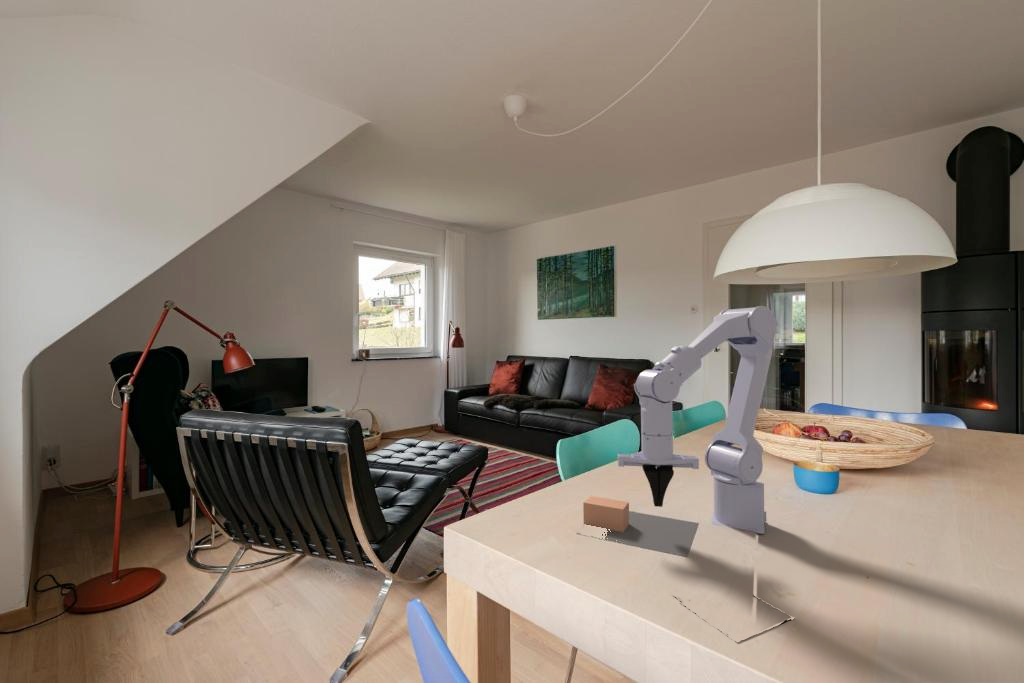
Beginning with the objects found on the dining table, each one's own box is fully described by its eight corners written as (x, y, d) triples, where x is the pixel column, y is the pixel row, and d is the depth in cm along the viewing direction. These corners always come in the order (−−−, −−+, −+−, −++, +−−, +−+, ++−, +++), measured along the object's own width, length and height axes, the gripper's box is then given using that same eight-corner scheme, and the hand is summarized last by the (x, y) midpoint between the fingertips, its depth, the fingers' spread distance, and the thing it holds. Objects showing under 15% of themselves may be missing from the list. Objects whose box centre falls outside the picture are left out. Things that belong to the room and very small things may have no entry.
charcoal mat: (698, 526, 90) (698, 523, 90) (686, 560, 76) (686, 557, 76) (602, 509, 100) (602, 506, 100) (575, 536, 86) (575, 533, 86)
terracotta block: (628, 502, 90) (590, 495, 94) (622, 509, 87) (583, 502, 90) (629, 523, 90) (591, 516, 94) (623, 532, 87) (583, 524, 90)
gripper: (692, 429, 88) (693, 499, 88) (616, 428, 91) (617, 495, 91) (701, 437, 81) (702, 512, 81) (618, 435, 84) (619, 508, 84)
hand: (657, 504), depth 86 cm, fingers closed
